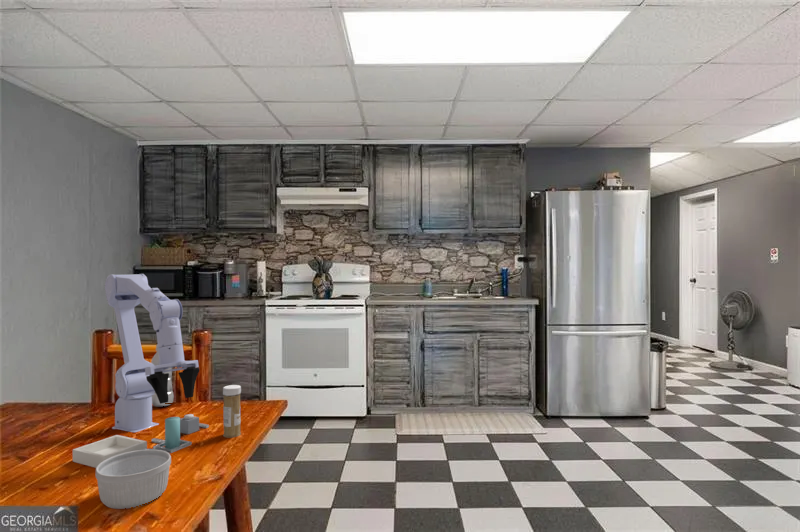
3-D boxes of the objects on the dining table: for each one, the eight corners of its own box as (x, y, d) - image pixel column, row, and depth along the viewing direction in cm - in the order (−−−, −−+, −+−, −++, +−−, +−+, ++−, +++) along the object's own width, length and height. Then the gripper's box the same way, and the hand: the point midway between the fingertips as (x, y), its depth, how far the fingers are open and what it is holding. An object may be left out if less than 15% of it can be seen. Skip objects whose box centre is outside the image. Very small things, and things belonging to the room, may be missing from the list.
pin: (162, 450, 122) (161, 419, 122) (173, 445, 125) (173, 416, 125) (171, 452, 121) (171, 421, 121) (183, 447, 124) (183, 417, 124)
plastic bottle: (178, 404, 162) (178, 343, 162) (162, 410, 156) (162, 346, 156) (162, 402, 164) (162, 342, 164) (146, 408, 158) (146, 345, 158)
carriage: (178, 432, 134) (178, 416, 134) (189, 428, 137) (189, 412, 137) (188, 434, 132) (188, 418, 132) (199, 430, 135) (199, 414, 135)
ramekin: (118, 520, 89) (118, 481, 89) (81, 501, 96) (81, 465, 96) (184, 491, 100) (184, 457, 100) (147, 476, 107) (147, 444, 107)
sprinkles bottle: (243, 437, 131) (243, 386, 131) (225, 440, 129) (225, 389, 129) (238, 432, 135) (238, 383, 135) (221, 435, 133) (221, 385, 133)
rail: (151, 443, 127) (151, 439, 127) (196, 426, 140) (196, 422, 140) (164, 446, 125) (164, 441, 125) (208, 429, 138) (208, 424, 138)
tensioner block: (122, 463, 114) (122, 452, 114) (173, 442, 127) (173, 433, 127) (141, 467, 112) (141, 457, 112) (191, 446, 125) (191, 437, 125)
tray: (72, 461, 115) (72, 449, 115) (117, 445, 125) (116, 434, 125) (103, 469, 111) (103, 457, 111) (146, 452, 121) (146, 441, 121)
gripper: (156, 345, 118) (163, 403, 116) (204, 341, 131) (211, 392, 129) (136, 351, 121) (143, 407, 119) (185, 346, 134) (191, 396, 132)
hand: (177, 400), depth 124 cm, fingers open, 7 cm apart
